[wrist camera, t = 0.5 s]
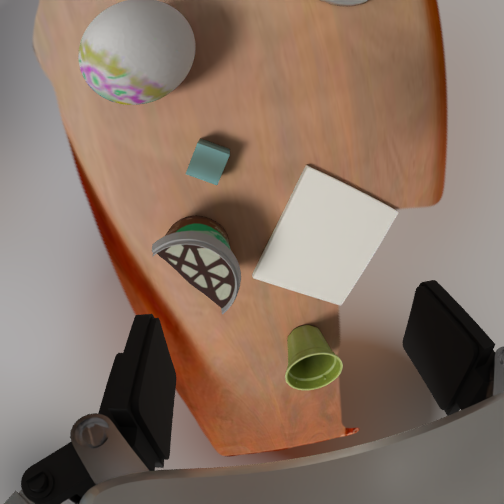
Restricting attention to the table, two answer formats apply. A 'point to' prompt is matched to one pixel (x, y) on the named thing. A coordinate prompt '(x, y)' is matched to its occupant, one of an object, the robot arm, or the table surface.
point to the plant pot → (310, 360)
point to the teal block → (208, 161)
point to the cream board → (324, 238)
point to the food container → (202, 258)
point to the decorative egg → (137, 51)
